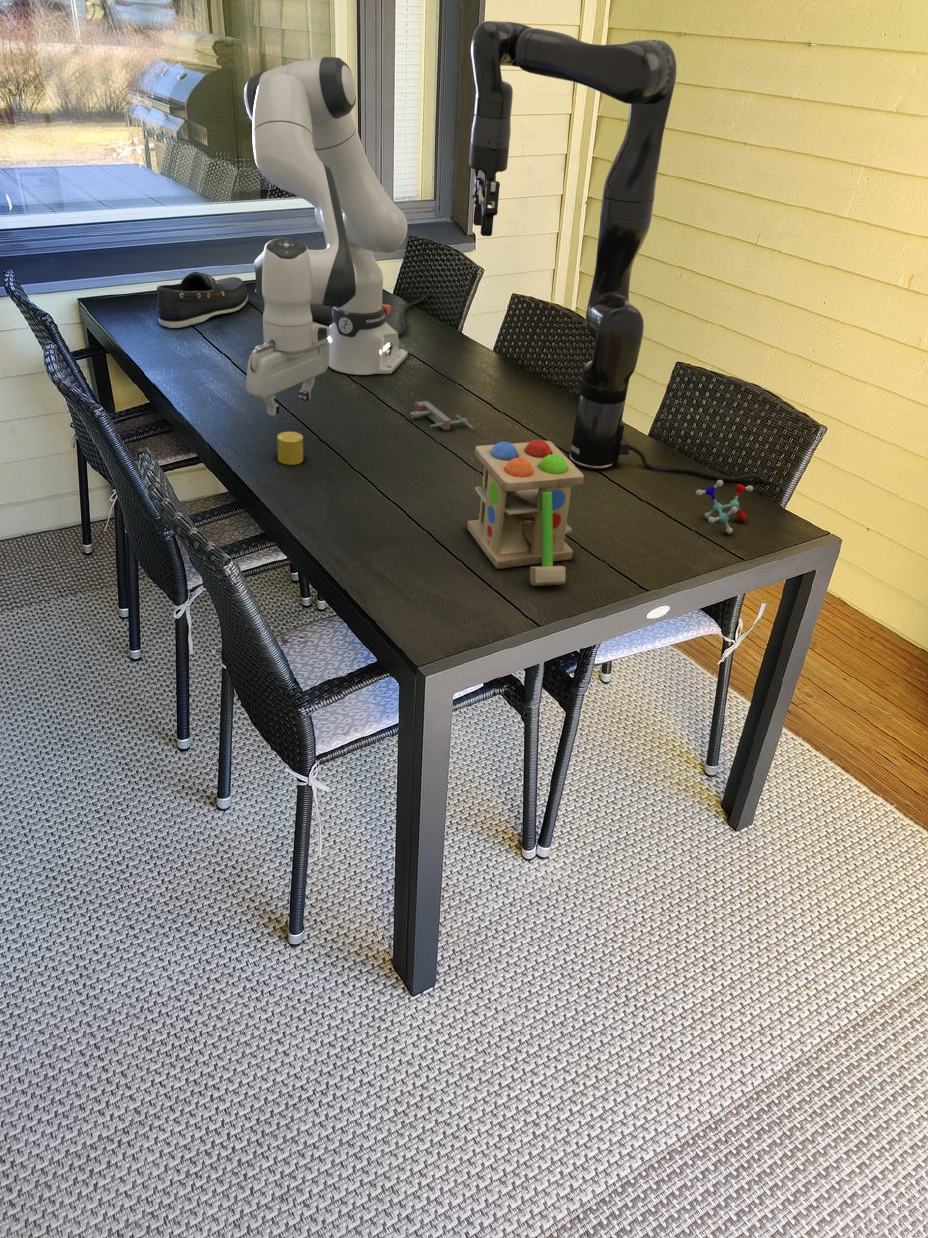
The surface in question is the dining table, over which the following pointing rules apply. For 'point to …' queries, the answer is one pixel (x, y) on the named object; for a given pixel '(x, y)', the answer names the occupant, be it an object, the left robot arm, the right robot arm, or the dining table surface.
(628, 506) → the dining table surface
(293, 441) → the yellow cylinder
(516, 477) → the pounding bench toy
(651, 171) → the right robot arm
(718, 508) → the molecular model
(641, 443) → the dining table surface
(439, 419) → the clamp
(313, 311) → the power drill
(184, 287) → the boat shoe
